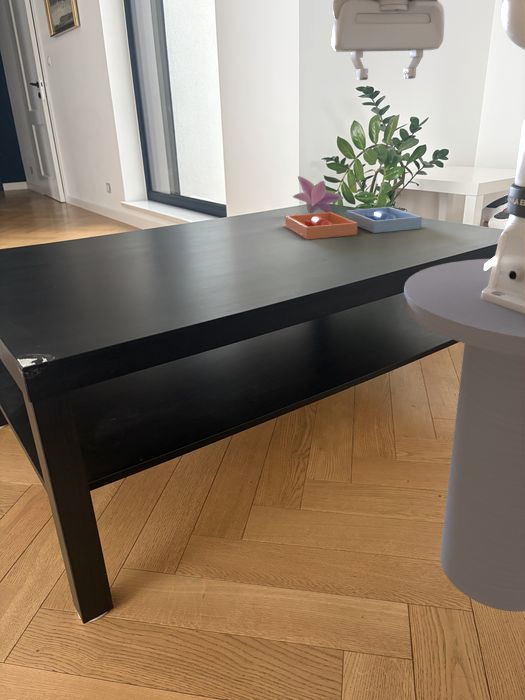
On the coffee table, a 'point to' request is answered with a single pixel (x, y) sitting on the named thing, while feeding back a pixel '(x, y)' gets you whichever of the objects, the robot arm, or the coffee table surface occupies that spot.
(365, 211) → the blue tray
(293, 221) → the orange tray
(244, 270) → the coffee table surface
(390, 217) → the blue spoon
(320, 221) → the red spoon
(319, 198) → the lily
